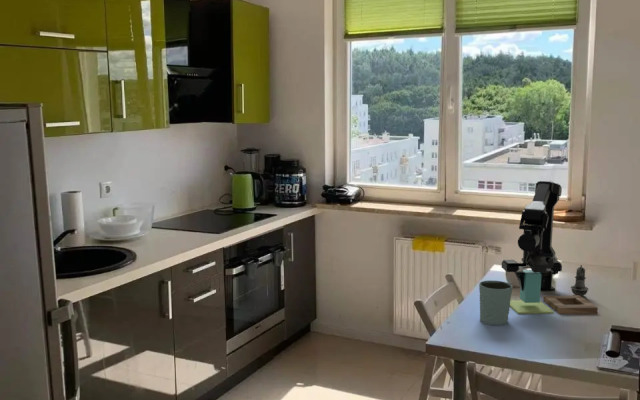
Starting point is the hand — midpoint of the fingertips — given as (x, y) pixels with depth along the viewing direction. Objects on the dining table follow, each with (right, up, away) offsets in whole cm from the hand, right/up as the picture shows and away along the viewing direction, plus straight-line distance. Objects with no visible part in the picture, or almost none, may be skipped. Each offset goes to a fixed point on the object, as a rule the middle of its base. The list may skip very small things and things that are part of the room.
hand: (530, 290), depth 214 cm
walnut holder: (+14, -6, +2) cm, 15 cm away
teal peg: (0, -4, 0) cm, 4 cm away
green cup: (-15, -8, -12) cm, 21 cm away
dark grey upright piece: (+21, -5, +12) cm, 25 cm away
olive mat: (0, -6, +1) cm, 6 cm away
